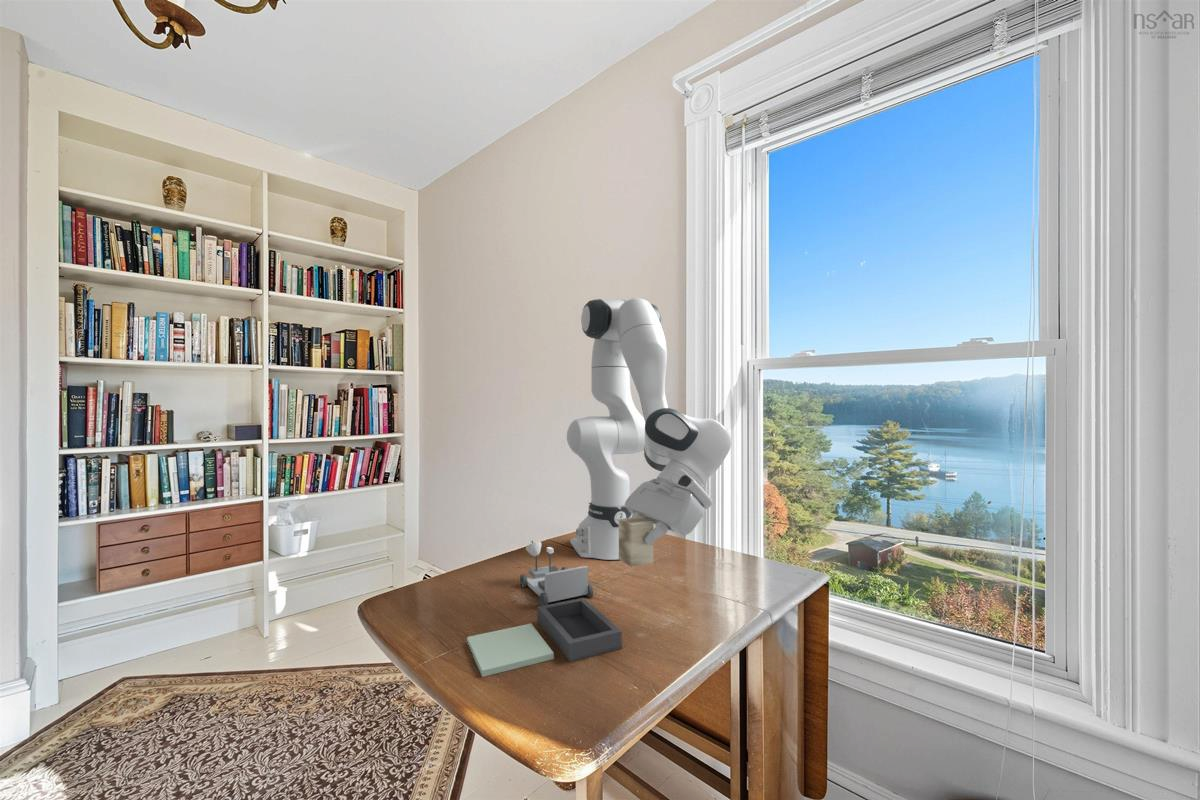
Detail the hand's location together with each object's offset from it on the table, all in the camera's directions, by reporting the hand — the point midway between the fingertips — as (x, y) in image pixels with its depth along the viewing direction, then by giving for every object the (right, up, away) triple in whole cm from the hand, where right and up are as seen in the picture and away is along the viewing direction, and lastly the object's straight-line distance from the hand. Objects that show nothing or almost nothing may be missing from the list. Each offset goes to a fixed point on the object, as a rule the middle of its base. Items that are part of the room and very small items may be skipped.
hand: (637, 538), depth 95 cm
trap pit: (-12, -16, -6) cm, 21 cm away
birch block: (0, -4, 0) cm, 4 cm away
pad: (-23, -16, -12) cm, 31 cm away
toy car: (-18, -17, +16) cm, 29 cm away
